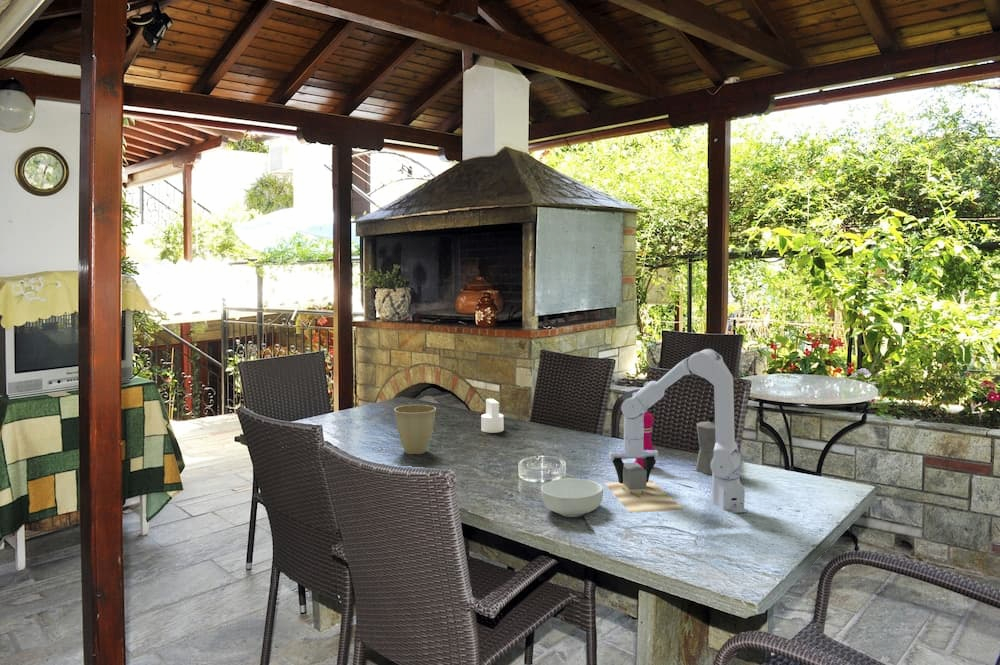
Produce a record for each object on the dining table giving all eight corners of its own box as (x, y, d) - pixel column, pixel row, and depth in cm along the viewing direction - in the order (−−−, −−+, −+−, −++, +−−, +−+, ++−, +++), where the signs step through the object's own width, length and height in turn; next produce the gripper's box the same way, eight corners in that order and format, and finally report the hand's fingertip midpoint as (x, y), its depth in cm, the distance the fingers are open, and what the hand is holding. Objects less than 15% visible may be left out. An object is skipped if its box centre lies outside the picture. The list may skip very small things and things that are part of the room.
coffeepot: (686, 465, 237) (687, 412, 235) (712, 463, 240) (713, 411, 238) (711, 479, 222) (712, 423, 221) (738, 477, 225) (739, 421, 223)
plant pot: (416, 460, 247) (415, 414, 245) (386, 453, 256) (385, 409, 254) (445, 450, 259) (444, 407, 257) (415, 444, 268) (414, 402, 266)
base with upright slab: (478, 428, 292) (478, 399, 291) (499, 426, 295) (499, 398, 294) (484, 433, 284) (484, 403, 283) (506, 431, 287) (506, 402, 285)
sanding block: (646, 491, 208) (646, 470, 207) (629, 491, 207) (629, 471, 207) (636, 481, 217) (636, 462, 216) (620, 482, 216) (620, 463, 216)
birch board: (683, 514, 193) (683, 509, 193) (629, 516, 191) (629, 512, 191) (651, 484, 218) (651, 480, 218) (604, 486, 217) (604, 482, 216)
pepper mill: (639, 470, 232) (639, 410, 230) (629, 464, 239) (629, 406, 237) (659, 469, 234) (660, 409, 232) (648, 463, 241) (649, 404, 239)
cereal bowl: (564, 497, 207) (564, 474, 206) (614, 510, 196) (614, 485, 196) (528, 514, 194) (528, 488, 193) (580, 528, 183) (580, 501, 183)
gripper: (652, 433, 216) (652, 476, 217) (606, 435, 214) (605, 479, 215) (660, 439, 209) (660, 484, 210) (612, 440, 207) (612, 486, 208)
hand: (633, 482), depth 212 cm, fingers open, 7 cm apart
